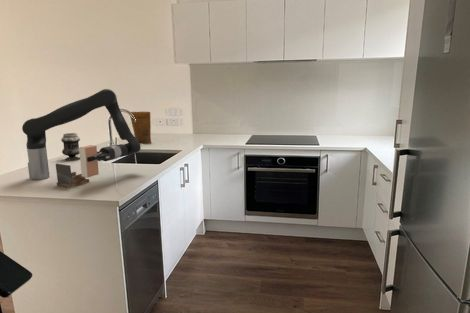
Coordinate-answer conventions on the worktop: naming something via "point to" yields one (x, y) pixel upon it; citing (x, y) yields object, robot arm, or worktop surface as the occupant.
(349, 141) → the worktop surface
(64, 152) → the dark grey pedestal urn
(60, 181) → the rack
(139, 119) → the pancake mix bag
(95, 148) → the salmon pink rectangular block
